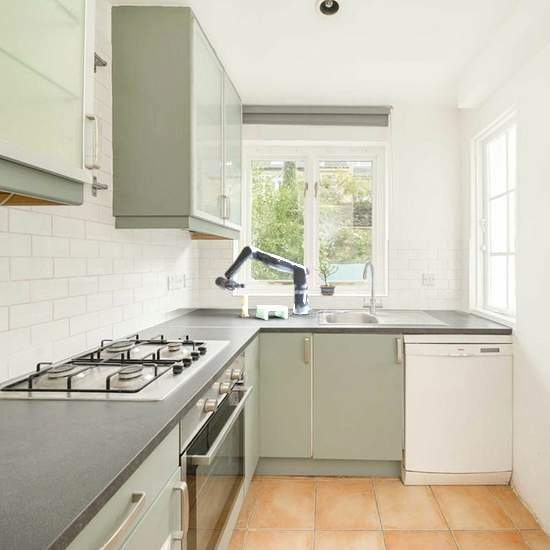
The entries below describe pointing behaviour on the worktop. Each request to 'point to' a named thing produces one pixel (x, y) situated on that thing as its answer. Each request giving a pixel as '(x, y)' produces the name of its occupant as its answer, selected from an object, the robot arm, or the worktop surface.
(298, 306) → the robot arm
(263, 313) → the shelf
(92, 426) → the worktop surface
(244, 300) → the stick
